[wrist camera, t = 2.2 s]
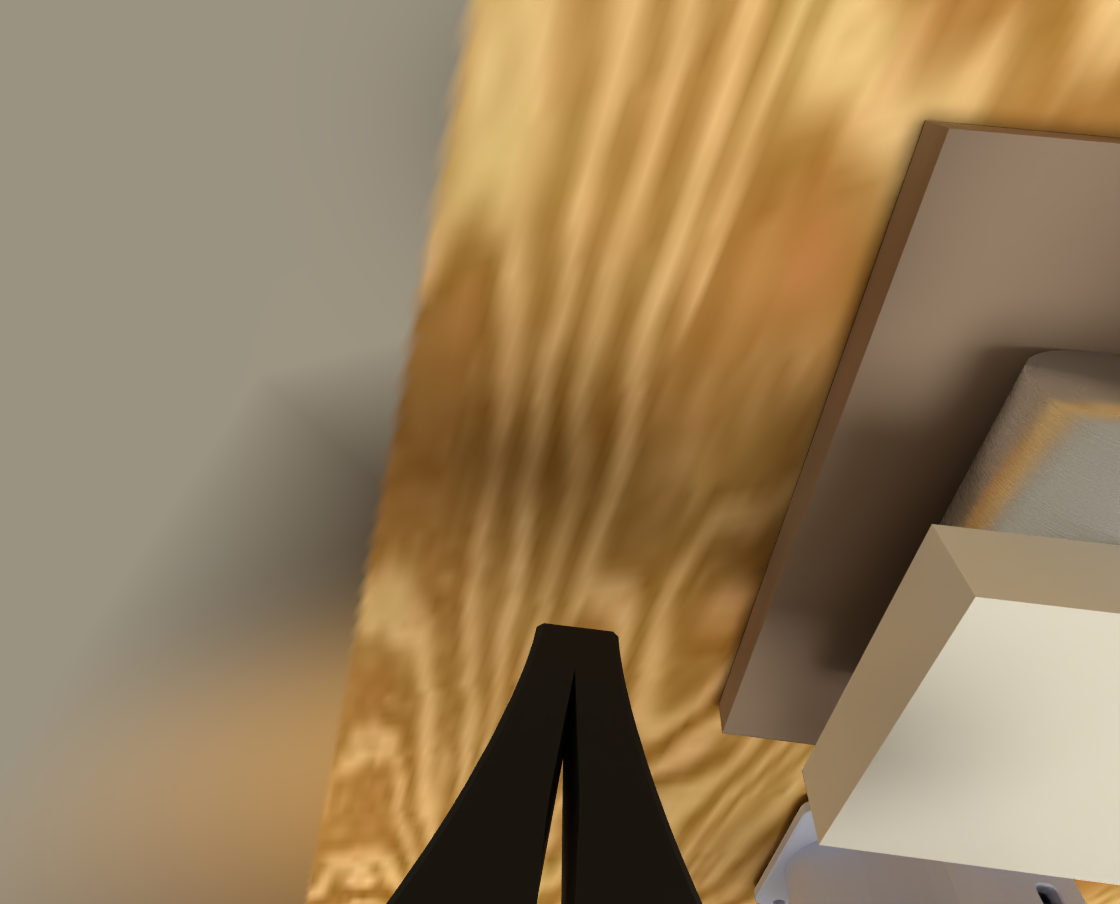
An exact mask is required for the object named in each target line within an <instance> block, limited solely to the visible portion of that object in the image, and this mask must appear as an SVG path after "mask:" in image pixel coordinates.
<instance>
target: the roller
mask: <svg viewBox="0 0 1120 904" xmlns="http://www.w3.org/2000/svg"><path fill="white" fill-rule="evenodd" d="M939 525H945V526H954V527H963V528H972V529H980V530H989V531H998V532H1007V533H1016V534H1024V535H1033V536H1042V537H1051V538H1060V539H1068V540H1077V541H1086V542H1095V543H1104V544H1112V545H1120V355H1116V354H1109V353H1101V352H1091V351H1081V350H1054V351H1047V352H1042V353H1039V354H1036V355H1034V356H1032V357H1030V358H1029V359H1028V361H1027V362H1026V364H1025V365H1024V367H1023V369H1022V371H1021V373H1020V375H1019V377H1018V378H1017V380H1016V382H1015V384H1014V386H1013V388H1012V390H1011V392H1010V393H1009V395H1008V397H1007V399H1006V401H1005V403H1004V405H1003V406H1002V408H1001V410H1000V412H999V414H998V416H997V418H996V420H995V421H994V423H993V425H992V427H991V429H990V431H989V433H988V434H987V436H986V438H985V440H984V442H983V444H982V446H981V447H980V449H979V451H978V453H977V455H976V457H975V459H974V461H973V462H972V464H971V466H970V468H969V470H968V472H967V474H966V475H965V477H964V479H963V481H962V483H961V485H960V487H959V488H958V490H957V492H956V494H955V496H954V498H953V500H952V502H951V503H950V505H949V507H948V509H947V511H946V513H945V515H944V516H943V518H942V520H941V522H940V524H939Z"/></svg>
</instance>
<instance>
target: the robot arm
mask: <svg viewBox="0 0 1120 904" xmlns="http://www.w3.org/2000/svg"><path fill="white" fill-rule="evenodd" d="M562 761H563V808H562V898H561V904H702V902H701V900H700V898H699V895H698V893H697V891H696V889H695V886H694V884H693V882H692V879H691V877H690V875H689V872H688V870H687V868H686V865H685V863H684V861H683V858H682V856H681V853H680V851H679V848H678V846H677V843H676V841H675V838H674V836H673V833H672V831H671V828H670V826H669V823H668V820H667V818H666V815H665V812H664V809H663V807H662V804H661V801H660V798H659V796H658V793H657V790H656V787H655V785H654V782H653V779H652V776H651V773H650V770H649V767H648V764H647V760H646V757H645V754H644V750H643V747H642V744H641V741H640V737H639V734H638V731H637V727H636V724H635V720H634V717H633V713H632V709H631V705H630V701H629V697H628V693H627V688H626V684H625V679H624V674H623V669H622V663H621V657H620V650H619V639H618V636H617V635H616V634H615V633H614V632H611V631H603V630H595V629H586V628H578V627H570V626H562V625H553V624H545V623H543V624H541V625H540V626H538V627H537V628H536V633H535V637H534V640H533V644H532V647H531V650H530V653H529V656H528V659H527V661H526V664H525V667H524V669H523V672H522V674H521V676H520V679H519V681H518V683H517V686H516V688H515V690H514V693H513V695H512V697H511V699H510V701H509V703H508V705H507V707H506V709H505V712H504V714H503V716H502V718H501V720H500V722H499V724H498V726H497V728H496V730H495V732H494V734H493V736H492V738H491V740H490V742H489V743H488V745H487V747H486V749H485V751H484V752H483V754H482V756H481V758H480V760H479V761H478V763H477V765H476V767H475V768H474V770H473V772H472V774H471V776H470V777H469V779H468V781H467V783H466V784H465V786H464V788H463V789H462V791H461V793H460V794H459V796H458V798H457V799H456V801H455V803H454V804H453V806H452V808H451V809H450V811H449V812H448V814H447V816H446V817H445V819H444V820H443V822H442V823H441V825H440V827H439V828H438V830H437V831H436V833H435V834H434V836H433V837H432V839H431V840H430V842H429V843H428V845H427V846H426V848H425V849H424V851H423V852H422V854H421V855H420V857H419V858H418V860H417V861H416V862H415V864H414V865H413V867H412V868H411V870H410V871H409V873H408V874H407V875H406V877H405V878H404V880H403V881H402V883H401V884H400V885H399V887H398V888H397V890H396V891H395V893H394V894H393V895H392V897H391V898H390V900H389V901H388V902H387V904H537V898H538V892H539V886H540V881H541V875H542V870H543V865H544V859H545V854H546V848H547V843H548V837H549V832H550V826H551V821H552V815H553V810H554V805H555V799H556V794H557V788H558V783H559V777H560V772H561V766H562ZM754 897H755V901H756V902H757V903H759V904H1087V903H1086V902H1085V900H1084V898H1083V896H1082V894H1081V892H1080V890H1079V888H1078V886H1077V884H1076V882H1075V880H1074V879H1070V878H1063V877H1055V876H1048V875H1040V874H1033V873H1025V872H1018V871H1010V870H1003V869H995V868H988V867H980V866H973V865H966V864H958V863H951V862H943V861H936V860H928V859H921V858H913V857H906V856H898V855H891V854H883V853H876V852H869V851H861V850H854V849H846V848H839V847H831V846H824V845H819V843H818V839H817V835H816V830H815V826H814V821H813V817H812V813H811V808H810V804H809V801H808V802H806V803H804V804H803V805H802V806H801V807H800V809H799V811H798V812H797V814H796V816H795V818H794V820H793V821H792V823H791V825H790V827H789V828H788V830H787V832H786V834H785V836H784V837H783V839H782V841H781V843H780V844H779V846H778V848H777V850H776V852H775V853H774V855H773V857H772V859H771V860H770V862H769V864H768V866H767V868H766V869H765V871H764V873H763V875H762V877H761V878H760V880H759V882H758V884H757V885H756V887H755V889H754Z"/></svg>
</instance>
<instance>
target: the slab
mask: <svg viewBox="0 0 1120 904" xmlns="http://www.w3.org/2000/svg"><path fill="white" fill-rule="evenodd" d="M802 773H803V777H804V782H805V786H806V791H807V795H808V799H809V804H810V808H811V813H812V817H813V821H814V826H815V830H816V835H817V839H818V843H819V845H824V846H831V847H839V848H846V849H854V850H861V851H869V852H876V853H883V854H891V855H898V856H906V857H913V858H921V859H928V860H936V861H943V862H951V863H958V864H966V865H973V866H980V867H988V868H995V869H1003V870H1010V871H1018V872H1025V873H1033V874H1040V875H1048V876H1055V877H1063V878H1070V879H1078V880H1085V881H1092V882H1100V883H1107V884H1115V885H1120V545H1112V544H1104V543H1095V542H1086V541H1077V540H1068V539H1060V538H1051V537H1042V536H1033V535H1024V534H1016V533H1007V532H998V531H989V530H980V529H972V528H963V527H954V526H945V525H936V524H932V525H931V527H930V529H929V530H928V532H927V534H926V536H925V538H924V540H923V542H922V544H921V546H920V547H919V549H918V551H917V553H916V555H915V557H914V559H913V561H912V563H911V565H910V566H909V568H908V570H907V572H906V574H905V576H904V578H903V580H902V582H901V584H900V585H899V587H898V589H897V591H896V593H895V595H894V597H893V599H892V601H891V603H890V604H889V606H888V608H887V610H886V612H885V614H884V616H883V618H882V620H881V621H880V623H879V625H878V627H877V629H876V631H875V633H874V635H873V637H872V639H871V640H870V642H869V644H868V646H867V648H866V650H865V652H864V654H863V656H862V658H861V659H860V661H859V663H858V665H857V667H856V669H855V671H854V673H853V675H852V677H851V678H850V680H849V682H848V684H847V686H846V688H845V690H844V692H843V694H842V695H841V697H840V699H839V701H838V703H837V705H836V707H835V709H834V711H833V713H832V714H831V716H830V718H829V720H828V722H827V724H826V726H825V728H824V730H823V732H822V733H821V735H820V737H819V739H818V741H817V743H816V745H815V747H814V749H813V751H812V752H811V754H810V756H809V758H808V760H807V762H806V764H805V766H804V768H803V769H802Z"/></svg>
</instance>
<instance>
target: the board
mask: <svg viewBox="0 0 1120 904" xmlns="http://www.w3.org/2000/svg"><path fill="white" fill-rule="evenodd" d="M1054 350H1081V351H1091V352H1101V353H1109V354H1116V355H1120V138H1115V137H1104V136H1092V135H1081V134H1070V133H1059V132H1048V131H1036V130H1025V129H1014V128H1003V127H992V126H980V125H969V124H958V123H947V122H936V121H925V124H924V126H923V129H922V132H921V135H920V138H919V141H918V143H917V146H916V149H915V152H914V155H913V158H912V160H911V163H910V166H909V169H908V172H907V174H906V177H905V180H904V183H903V186H902V189H901V191H900V194H899V197H898V200H897V203H896V206H895V208H894V211H893V214H892V217H891V220H890V222H889V225H888V228H887V231H886V234H885V237H884V239H883V242H882V245H881V248H880V251H879V254H878V256H877V259H876V262H875V265H874V268H873V271H872V273H871V276H870V279H869V282H868V285H867V287H866V290H865V293H864V296H863V299H862V302H861V304H860V307H859V310H858V313H857V316H856V319H855V321H854V324H853V327H852V330H851V333H850V336H849V338H848V341H847V344H846V347H845V350H844V352H843V355H842V358H841V361H840V364H839V367H838V369H837V372H836V375H835V378H834V381H833V384H832V386H831V389H830V392H829V395H828V398H827V400H826V403H825V406H824V409H823V412H822V415H821V417H820V420H819V423H818V426H817V429H816V432H815V434H814V437H813V440H812V443H811V446H810V449H809V451H808V454H807V457H806V460H805V463H804V465H803V468H802V471H801V474H800V477H799V480H798V482H797V485H796V488H795V491H794V494H793V497H792V499H791V502H790V505H789V508H788V511H787V514H786V516H785V519H784V522H783V525H782V528H781V530H780V533H779V536H778V539H777V542H776V545H775V547H774V550H773V553H772V556H771V559H770V562H769V564H768V567H767V570H766V573H765V576H764V578H763V581H762V584H761V587H760V590H759V593H758V595H757V598H756V601H755V604H754V607H753V610H752V612H751V615H750V618H749V621H748V624H747V627H746V629H745V632H744V635H743V638H742V641H741V643H740V646H739V649H738V652H737V655H736V658H735V660H734V663H733V666H732V669H731V672H730V675H729V677H728V680H727V683H726V686H725V689H724V691H723V694H722V697H721V700H720V703H719V710H720V718H721V726H722V733H726V734H733V735H741V736H749V737H757V738H765V739H772V740H780V741H788V742H796V743H804V744H811V745H816V743H817V741H818V739H819V737H820V735H821V733H822V732H823V730H824V728H825V726H826V724H827V722H828V720H829V718H830V716H831V714H832V713H833V711H834V709H835V707H836V705H837V703H838V701H839V699H840V697H841V695H842V694H843V692H844V690H845V688H846V686H847V684H848V682H849V680H850V678H851V677H852V675H853V673H854V671H855V669H856V667H857V665H858V663H859V661H860V659H861V658H862V656H863V654H864V652H865V650H866V648H867V646H868V644H869V642H870V640H871V639H872V637H873V635H874V633H875V631H876V629H877V627H878V625H879V623H880V621H881V620H882V618H883V616H884V614H885V612H886V610H887V608H888V606H889V604H890V603H891V601H892V599H893V597H894V595H895V593H896V591H897V589H898V587H899V585H900V584H901V582H902V580H903V578H904V576H905V574H906V572H907V570H908V568H909V566H910V565H911V563H912V561H913V559H914V557H915V555H916V553H917V551H918V549H919V547H920V546H921V544H922V542H923V540H924V538H925V536H926V534H927V532H928V530H929V529H930V527H931V525H932V524H936V525H939V524H940V522H941V520H942V518H943V516H944V515H945V513H946V511H947V509H948V507H949V505H950V503H951V502H952V500H953V498H954V496H955V494H956V492H957V490H958V488H959V487H960V485H961V483H962V481H963V479H964V477H965V475H966V474H967V472H968V470H969V468H970V466H971V464H972V462H973V461H974V459H975V457H976V455H977V453H978V451H979V449H980V447H981V446H982V444H983V442H984V440H985V438H986V436H987V434H988V433H989V431H990V429H991V427H992V425H993V423H994V421H995V420H996V418H997V416H998V414H999V412H1000V410H1001V408H1002V406H1003V405H1004V403H1005V401H1006V399H1007V397H1008V395H1009V393H1010V392H1011V390H1012V388H1013V386H1014V384H1015V382H1016V380H1017V378H1018V377H1019V375H1020V373H1021V371H1022V369H1023V367H1024V365H1025V364H1026V362H1027V361H1028V359H1029V358H1030V357H1032V356H1034V355H1036V354H1039V353H1042V352H1047V351H1054Z"/></svg>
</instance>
